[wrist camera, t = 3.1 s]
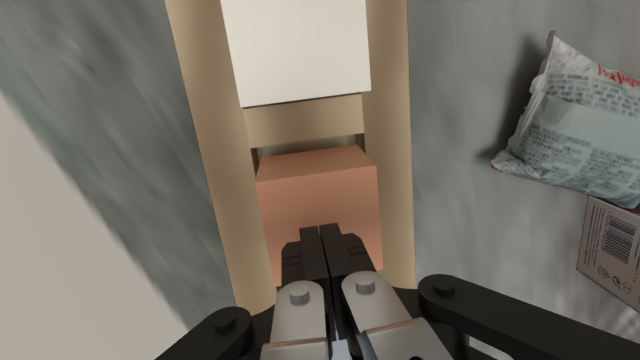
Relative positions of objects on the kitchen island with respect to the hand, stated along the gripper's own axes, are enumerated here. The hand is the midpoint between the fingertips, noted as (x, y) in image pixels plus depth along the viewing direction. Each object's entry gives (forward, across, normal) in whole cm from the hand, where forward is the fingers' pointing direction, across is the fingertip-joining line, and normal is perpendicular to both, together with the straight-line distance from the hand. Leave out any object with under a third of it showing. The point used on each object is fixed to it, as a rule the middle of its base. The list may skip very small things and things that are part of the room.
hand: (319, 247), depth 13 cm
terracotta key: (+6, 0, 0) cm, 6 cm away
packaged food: (+11, -19, -1) cm, 22 cm away
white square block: (+6, 0, -8) cm, 10 cm away
